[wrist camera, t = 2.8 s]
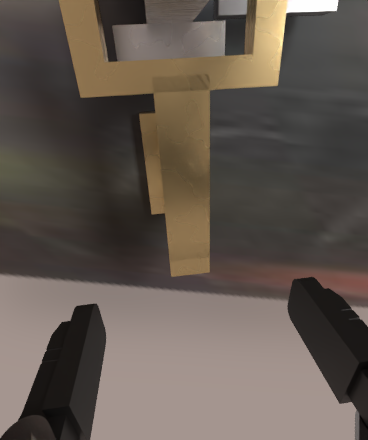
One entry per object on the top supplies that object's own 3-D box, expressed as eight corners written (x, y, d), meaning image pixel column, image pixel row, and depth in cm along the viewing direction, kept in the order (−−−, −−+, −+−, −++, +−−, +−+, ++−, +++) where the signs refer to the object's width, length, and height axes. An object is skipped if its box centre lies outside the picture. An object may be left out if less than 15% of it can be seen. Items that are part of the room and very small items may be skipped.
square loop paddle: (84, -78, 12) (-3, -273, 5) (228, -80, 13) (318, -261, 6) (132, 210, 20) (122, 282, 13) (220, 202, 20) (256, 267, 14)
